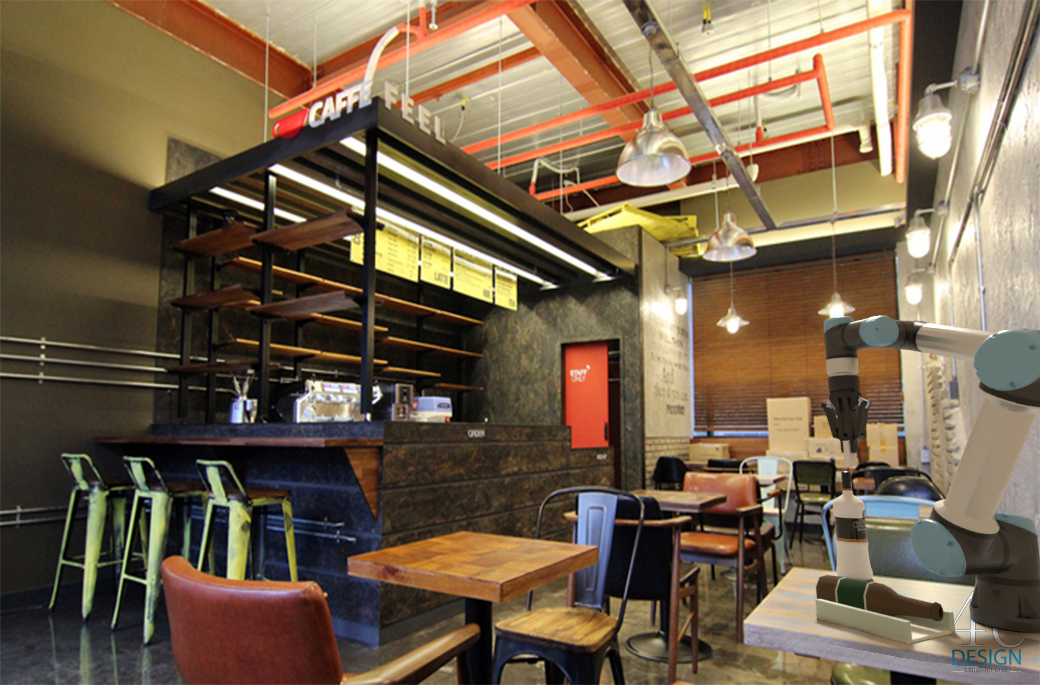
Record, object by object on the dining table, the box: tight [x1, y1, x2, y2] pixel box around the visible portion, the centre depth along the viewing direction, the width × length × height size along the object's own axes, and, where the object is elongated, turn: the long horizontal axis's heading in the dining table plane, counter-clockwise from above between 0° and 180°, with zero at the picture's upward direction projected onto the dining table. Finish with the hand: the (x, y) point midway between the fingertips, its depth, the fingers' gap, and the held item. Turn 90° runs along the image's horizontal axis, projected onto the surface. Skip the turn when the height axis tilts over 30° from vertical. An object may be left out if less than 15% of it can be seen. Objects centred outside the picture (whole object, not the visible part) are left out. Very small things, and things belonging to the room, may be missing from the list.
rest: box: [815, 598, 956, 645], centre depth 133 cm, size 20×16×4 cm
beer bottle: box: [815, 574, 944, 621], centre depth 136 cm, size 8×8×24 cm
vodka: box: [832, 470, 874, 581], centre depth 181 cm, size 9×9×30 cm
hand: (850, 466), depth 162 cm, fingers closed
